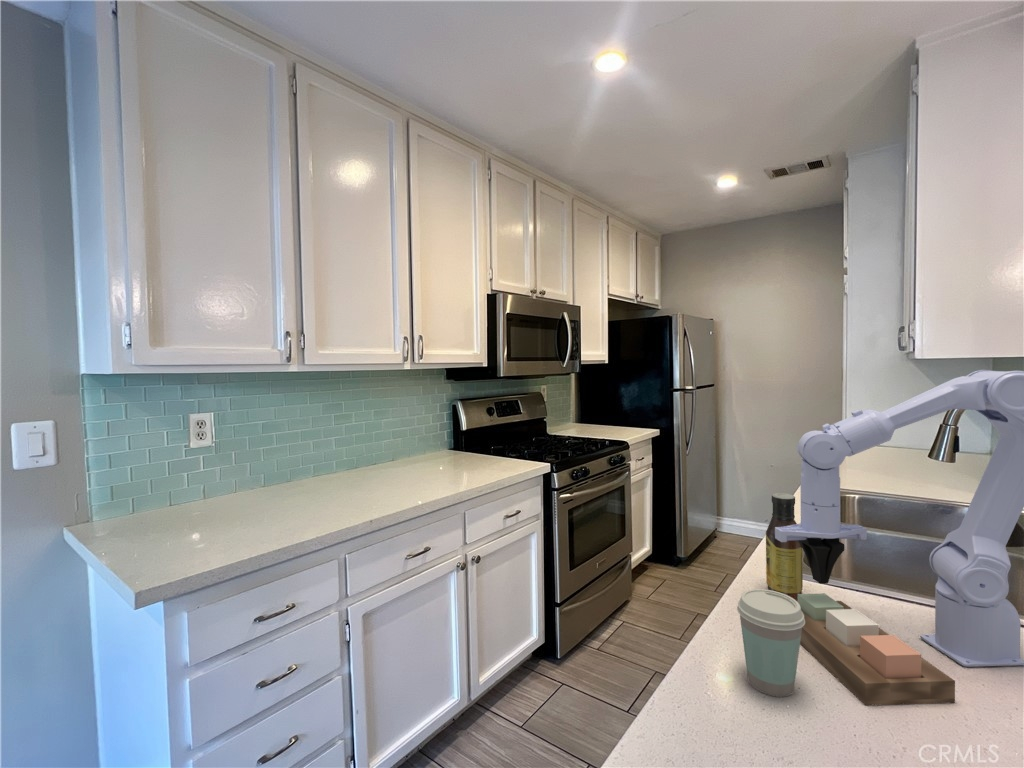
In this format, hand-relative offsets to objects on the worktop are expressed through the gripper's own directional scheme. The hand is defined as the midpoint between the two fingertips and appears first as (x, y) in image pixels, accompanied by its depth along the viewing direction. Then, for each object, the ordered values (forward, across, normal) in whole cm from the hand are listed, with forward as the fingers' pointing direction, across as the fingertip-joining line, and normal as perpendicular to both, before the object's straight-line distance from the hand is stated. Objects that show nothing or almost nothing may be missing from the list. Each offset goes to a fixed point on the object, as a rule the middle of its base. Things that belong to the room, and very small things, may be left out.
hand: (820, 581), depth 82 cm
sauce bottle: (+8, -1, -12) cm, 15 cm away
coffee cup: (+8, +16, +14) cm, 23 cm away
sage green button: (+7, 0, 0) cm, 7 cm away
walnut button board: (+8, 0, +8) cm, 11 cm away
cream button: (+6, 0, +8) cm, 10 cm away
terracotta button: (+6, 0, +15) cm, 16 cm away
